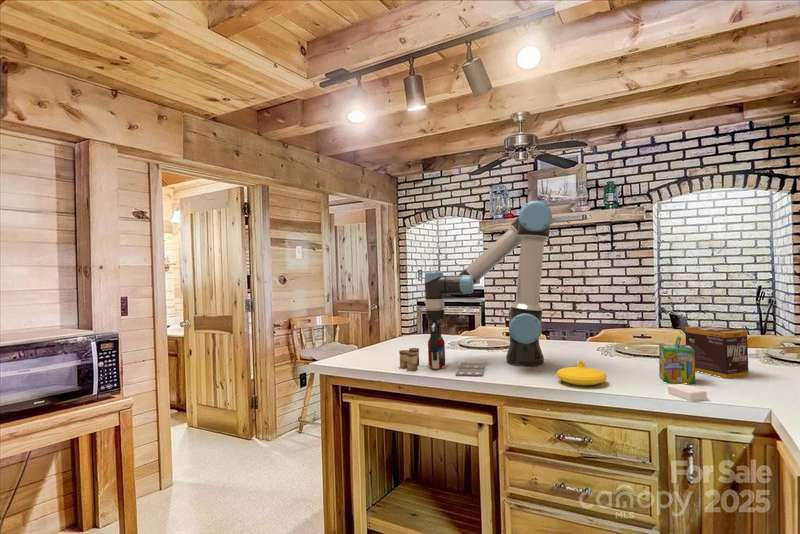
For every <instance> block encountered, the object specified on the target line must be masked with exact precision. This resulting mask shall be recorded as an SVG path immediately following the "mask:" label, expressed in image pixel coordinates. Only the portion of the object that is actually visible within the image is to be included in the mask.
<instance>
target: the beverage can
mask: <svg viewBox="0 0 800 534" xmlns="http://www.w3.org/2000/svg"><path fill="white" fill-rule="evenodd" d="M445 342H446V341H445V340H444V338H443V337H442V336H441V337H438V352H439V368H432V352H430V349H431V340H430V337H429V339H428V341H427V353H428V356H427V357H428V367H430V368H431V369H434V370H435V369H437V370H440V369H443V368H444V367H446V345H445V344H446V343H445Z"/></svg>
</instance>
